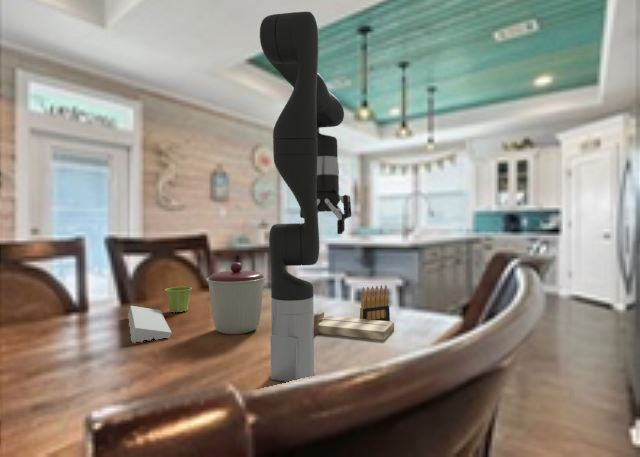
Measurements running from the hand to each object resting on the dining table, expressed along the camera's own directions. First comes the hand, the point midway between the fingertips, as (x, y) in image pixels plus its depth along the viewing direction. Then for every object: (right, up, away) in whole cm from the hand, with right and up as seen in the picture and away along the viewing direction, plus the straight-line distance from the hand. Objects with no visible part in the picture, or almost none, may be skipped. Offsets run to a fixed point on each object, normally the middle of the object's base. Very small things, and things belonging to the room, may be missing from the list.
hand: (325, 233), depth 112 cm
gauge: (-3, -30, +12) cm, 32 cm away
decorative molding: (-57, -31, +20) cm, 68 cm away
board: (+6, -30, +14) cm, 33 cm away
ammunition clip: (+17, -30, +23) cm, 41 cm away
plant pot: (-55, -30, +42) cm, 75 cm away
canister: (-27, -30, +15) cm, 43 cm away
